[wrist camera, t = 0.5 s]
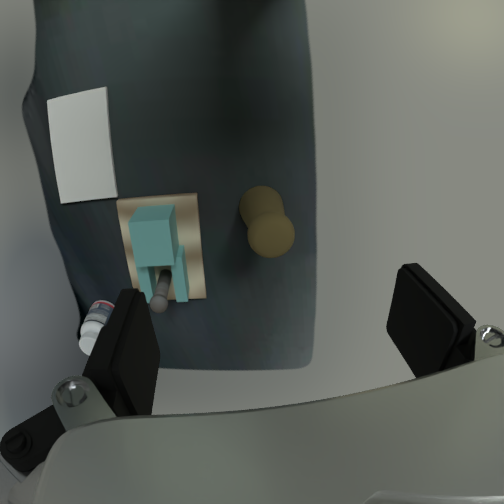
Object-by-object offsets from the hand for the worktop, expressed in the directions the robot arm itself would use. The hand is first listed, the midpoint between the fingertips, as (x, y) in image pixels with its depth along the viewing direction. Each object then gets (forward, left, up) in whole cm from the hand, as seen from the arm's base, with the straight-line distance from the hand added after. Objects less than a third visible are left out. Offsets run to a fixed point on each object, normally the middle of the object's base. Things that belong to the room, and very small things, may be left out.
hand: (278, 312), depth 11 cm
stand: (+13, -11, -33) cm, 37 cm away
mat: (-3, -21, -33) cm, 39 cm away
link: (+13, -11, -32) cm, 36 cm away
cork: (+8, +3, -33) cm, 34 cm away
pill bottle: (+24, -23, -33) cm, 47 cm away
